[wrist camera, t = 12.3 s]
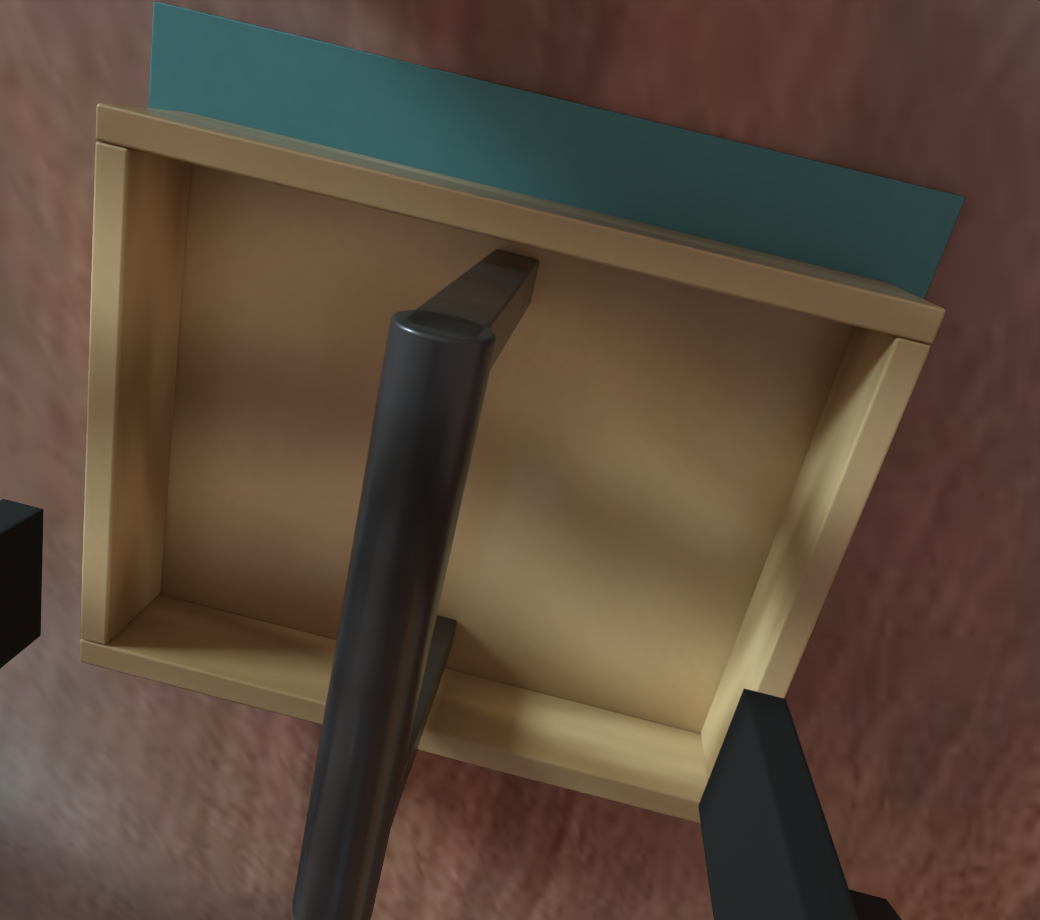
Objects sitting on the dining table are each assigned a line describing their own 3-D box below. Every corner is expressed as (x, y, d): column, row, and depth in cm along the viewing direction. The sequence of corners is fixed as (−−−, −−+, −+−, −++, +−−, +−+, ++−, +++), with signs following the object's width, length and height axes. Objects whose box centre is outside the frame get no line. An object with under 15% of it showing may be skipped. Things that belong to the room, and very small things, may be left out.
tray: (713, 738, 27) (776, 1119, 16) (152, 592, 27) (-144, 870, 17) (889, 283, 21) (1160, 406, 11) (185, 111, 22) (-225, 68, 11)
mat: (716, 799, 28) (717, 806, 28) (124, 644, 28) (119, 649, 28) (961, 196, 21) (966, 197, 20) (159, 2, 21) (153, 0, 21)
